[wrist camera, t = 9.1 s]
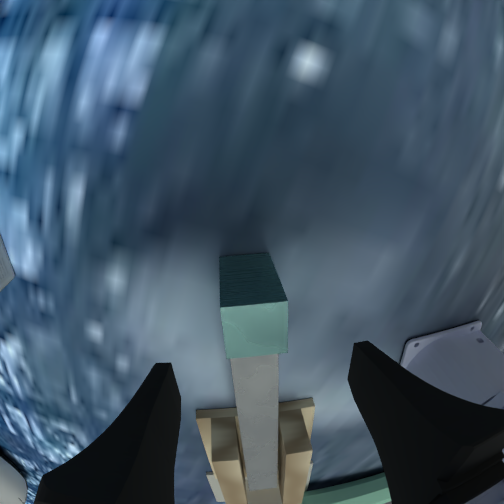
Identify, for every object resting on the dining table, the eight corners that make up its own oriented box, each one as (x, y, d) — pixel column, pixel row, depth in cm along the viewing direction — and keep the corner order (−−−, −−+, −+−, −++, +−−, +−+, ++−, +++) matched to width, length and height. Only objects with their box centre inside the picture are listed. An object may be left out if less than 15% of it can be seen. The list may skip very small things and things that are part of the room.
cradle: (312, 397, 25) (328, 447, 20) (303, 462, 29) (313, 501, 24) (196, 410, 24) (194, 462, 19) (215, 472, 29) (216, 512, 24)
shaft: (269, 252, 19) (288, 301, 14) (273, 460, 28) (281, 504, 23) (219, 256, 19) (220, 307, 14) (245, 463, 28) (250, 508, 23)
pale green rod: (459, 475, 29) (301, 530, 25) (437, 482, 33) (291, 527, 29) (451, 443, 33) (295, 489, 30) (430, 452, 37) (285, 491, 34)
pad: (312, 460, 29) (312, 463, 29) (306, 489, 33) (306, 491, 32) (206, 472, 29) (206, 475, 28) (217, 499, 32) (217, 501, 32)
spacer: (287, 503, 26) (286, 511, 27) (282, 476, 30) (281, 485, 31) (241, 508, 26) (243, 516, 27) (239, 480, 29) (241, 490, 30)
